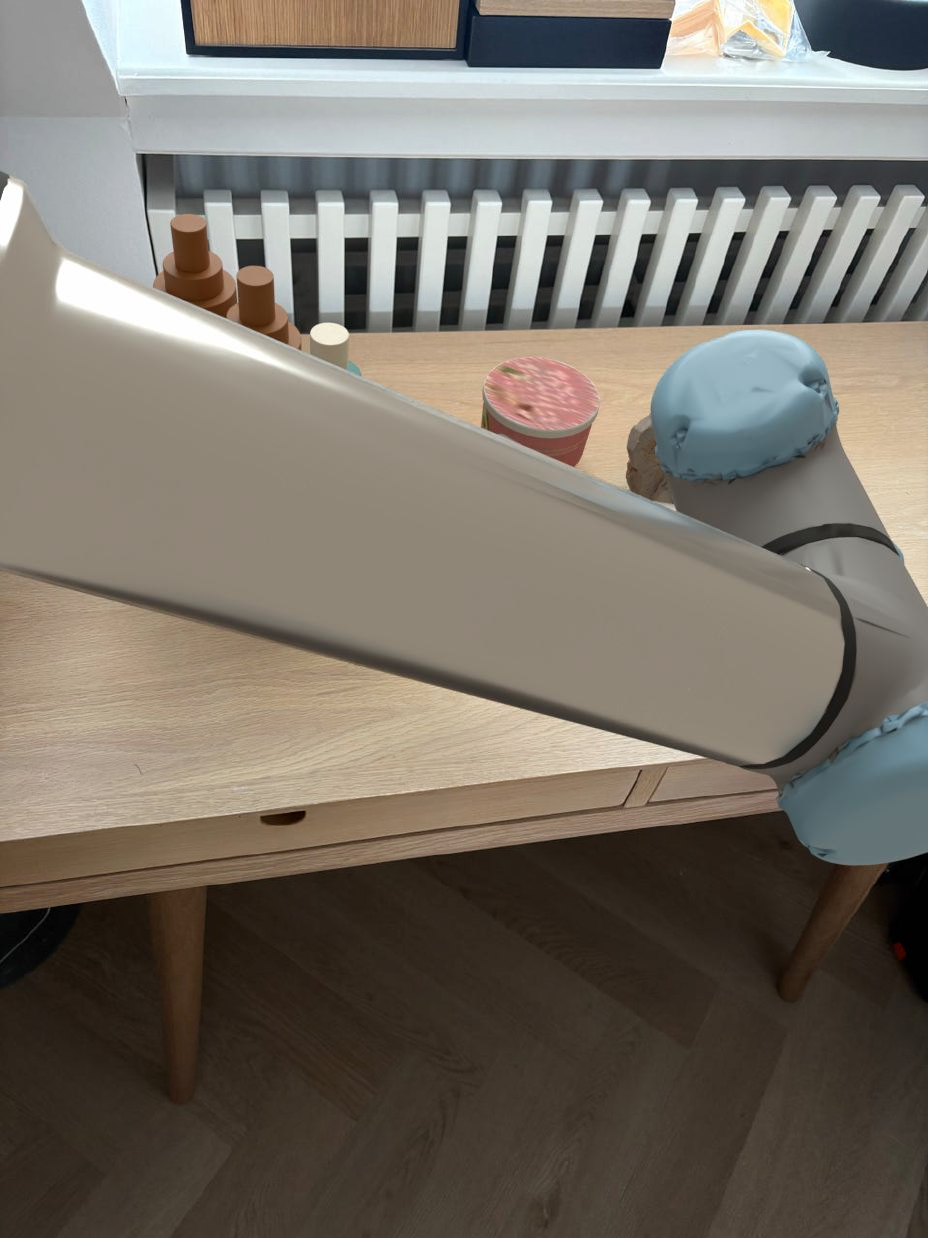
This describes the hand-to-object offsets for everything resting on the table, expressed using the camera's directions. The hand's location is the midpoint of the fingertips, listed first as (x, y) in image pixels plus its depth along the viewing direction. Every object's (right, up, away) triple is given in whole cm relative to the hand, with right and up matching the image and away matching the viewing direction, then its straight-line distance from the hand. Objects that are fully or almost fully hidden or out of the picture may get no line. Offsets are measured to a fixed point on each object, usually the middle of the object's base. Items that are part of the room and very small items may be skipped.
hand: (332, 508), depth 70 cm
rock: (+29, +3, +25) cm, 38 cm away
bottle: (-3, +1, +18) cm, 19 cm away
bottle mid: (-9, +7, +22) cm, 25 cm away
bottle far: (-15, +12, +26) cm, 32 cm away
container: (+15, +7, +27) cm, 31 cm away
